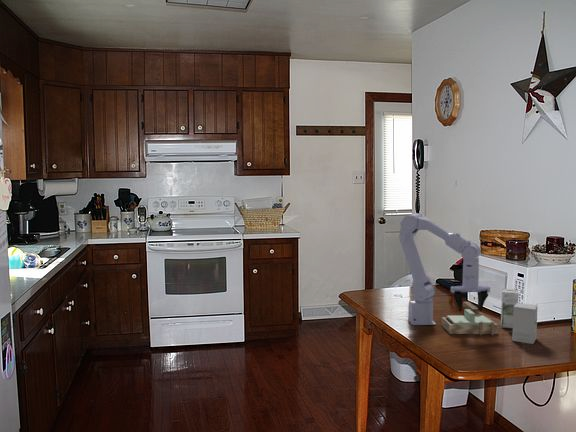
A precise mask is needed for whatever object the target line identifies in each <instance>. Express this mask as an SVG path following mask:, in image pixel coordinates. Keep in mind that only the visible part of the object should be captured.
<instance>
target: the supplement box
mask: <svg viewBox="0 0 576 432" xmlns="http://www.w3.org/2000/svg"><path fill="white" fill-rule="evenodd" d="M538 306H539V305H538V304H537V305H536V304H529V303H523V302H522V303H521V302H518V303H516V305H515V306H514V310H513V329H512V335H511V337H512V338H511V341H513V342H519V343H524V344H532V345H534V343H535V341H536V339H537V329H538V328H537V327H538V326H537V325H538V309H539V307H538Z"/></svg>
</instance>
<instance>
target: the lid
mask: <svg viewBox="0 0 576 432" xmlns="http://www.w3.org/2000/svg"><path fill="white" fill-rule="evenodd" d="M463 312H464V313H463V314H464V315H446V317H447V318H448V319H449V320H450V321H451V322H452V323H453V324H454V325H479V322H483V325H491V322H492V321H493V320H492V321H490V320H489V319H490V318H489V317H488V318H489V319H488V318H486V317H487V316H485V315H484V314H483V315H480V314H475V313H474V312H472V311H471V310H470V309H466V308H464V311H463Z"/></svg>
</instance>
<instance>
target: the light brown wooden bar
mask: <svg viewBox="0 0 576 432" xmlns="http://www.w3.org/2000/svg"><path fill="white" fill-rule="evenodd" d="M462 308H464V309H470V310H471V311H472V312H474V313H475V315H480V311H479V310H478V306H476V305H474V304H473V303H472V302H471V301H462Z"/></svg>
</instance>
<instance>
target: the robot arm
mask: <svg viewBox="0 0 576 432" xmlns="http://www.w3.org/2000/svg"><path fill="white" fill-rule="evenodd" d="M399 224H400V230H399V235H398V238H399V242H400V245H401V248H402V250H403V254H404V257H405V259H406V262H407V265H408V269H409V271H410V274H411V277H412V284H411V285H412V286H411V287H412V297H413V298H414V300H409V302H408V308H407V309H408V312H407V313H408V315H407V317H408V318H407V320H408V321H409V323H410V324H411V325H412V326H434V325H437V324H436V322H435V320H434V298H433V297H434V296H435V294H436V287H435V286H434V284H433V283H432V282H431V280H430V278H429V277H428V276H427V275H426V271H425V269H424V265H423V263H422V260H421V257H420V254H419V251H418V249H417V246H416V242H415V240H414V238H415V236H416V235H417V234H418V233H417V232H418V231H428V232H430V233H432V234H433V235H434V236H437V237H439V238H440V239H442V240H443V241H444V244H445V245H446V246H447V247H449V248H450V249H452V250H453V251H455V252H456V253H458V254H460V255H461V257H462V259H463V263H462V285H456V286H450V292H451V293H452V295H453V297H454V299H455V302H456V307H457V310H458V311H459V312H462V311H463V294H462V293H477V302H478V303H477V308H478V310H479V312H483V307H484V304H485V301H487V298H488V297H489V293H491V287H490V286H488V285H487V286H485V285H479V275H480V273H479V272H480V271H479V270H480V264H479V263H480V260H479V259H480V258H479V257H480V255H481V252H482V251H481V247H480V246H479V245H478V244H477V243H475V242H472V241H471V240H468V239H465V238H464V237H462V236H461V233H459V232H457V233H456V232H451V233H450V232H448V231H447V230H445V228H443V227H441V226H440V225H439V224H437V223H436V222H434V221H432V220H431V219H430V218H429V217H427V216H425V215H422V214H421V213H418V212H417V213H413V214H406V215H405V216H404V217H403V218H402V219H401V221H400V223H399Z"/></svg>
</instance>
